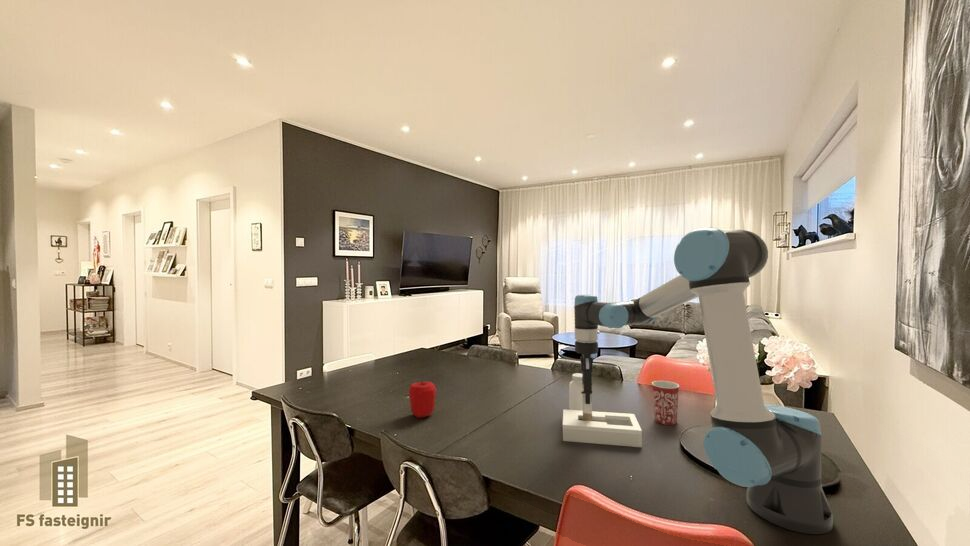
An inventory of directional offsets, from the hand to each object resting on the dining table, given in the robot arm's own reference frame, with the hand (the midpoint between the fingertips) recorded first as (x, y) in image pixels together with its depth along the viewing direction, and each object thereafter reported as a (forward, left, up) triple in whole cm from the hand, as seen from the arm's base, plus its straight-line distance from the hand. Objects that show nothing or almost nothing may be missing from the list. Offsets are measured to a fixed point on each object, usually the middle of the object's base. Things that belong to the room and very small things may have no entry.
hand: (587, 408), depth 128 cm
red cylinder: (+5, +61, -9) cm, 62 cm away
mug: (+18, -29, -9) cm, 35 cm away
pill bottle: (+18, +2, -9) cm, 20 cm away
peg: (0, 0, -8) cm, 8 cm away
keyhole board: (0, -4, -8) cm, 9 cm away
